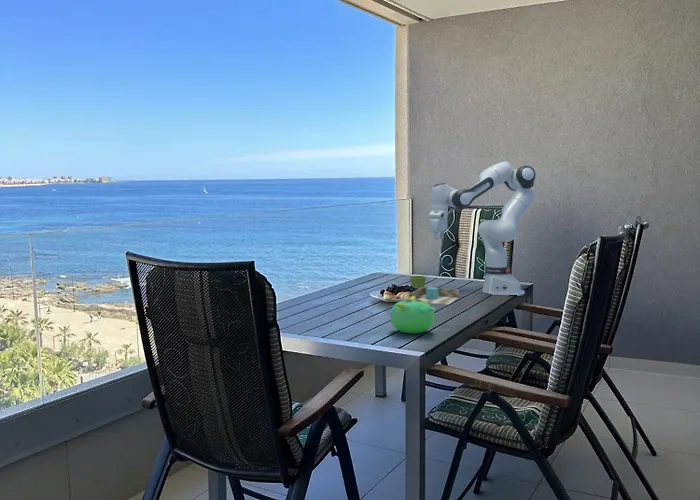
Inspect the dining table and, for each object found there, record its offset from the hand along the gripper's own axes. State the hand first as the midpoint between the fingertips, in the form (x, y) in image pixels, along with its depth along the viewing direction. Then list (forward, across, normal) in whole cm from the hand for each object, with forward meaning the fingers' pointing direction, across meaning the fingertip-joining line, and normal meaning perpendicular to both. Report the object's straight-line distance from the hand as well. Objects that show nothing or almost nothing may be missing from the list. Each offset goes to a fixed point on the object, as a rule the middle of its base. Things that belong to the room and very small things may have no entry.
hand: (439, 239), depth 343 cm
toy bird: (+30, +89, +16) cm, 95 cm away
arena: (+29, +23, +5) cm, 37 cm away
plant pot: (+29, +5, -10) cm, 31 cm away
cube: (+28, +21, +3) cm, 35 cm away
